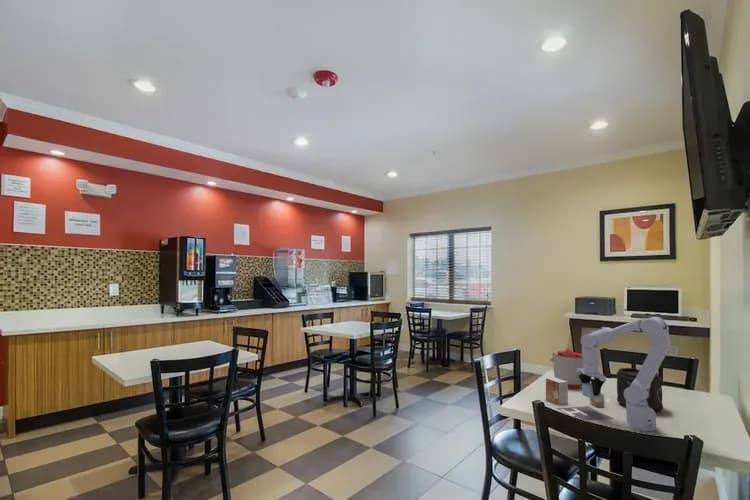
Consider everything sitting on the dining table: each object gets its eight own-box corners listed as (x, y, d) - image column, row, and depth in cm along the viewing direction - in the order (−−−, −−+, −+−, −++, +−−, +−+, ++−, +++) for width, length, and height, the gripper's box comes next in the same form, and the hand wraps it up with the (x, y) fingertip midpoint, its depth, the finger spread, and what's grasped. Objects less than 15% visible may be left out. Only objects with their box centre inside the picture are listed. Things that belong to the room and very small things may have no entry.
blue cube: (601, 398, 163) (600, 386, 163) (590, 398, 162) (590, 386, 162) (592, 394, 168) (592, 382, 168) (582, 394, 167) (582, 383, 167)
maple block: (604, 407, 171) (604, 394, 172) (596, 408, 171) (596, 394, 171) (597, 404, 175) (597, 391, 176) (590, 405, 175) (589, 392, 175)
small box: (545, 400, 181) (545, 377, 182) (554, 399, 183) (554, 376, 183) (559, 405, 173) (558, 382, 174) (568, 404, 175) (568, 381, 176)
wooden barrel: (653, 402, 180) (652, 368, 181) (671, 415, 162) (670, 378, 163) (610, 398, 185) (609, 365, 186) (623, 411, 167) (622, 375, 168)
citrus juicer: (558, 379, 217) (557, 344, 219) (590, 386, 204) (589, 349, 205) (544, 384, 208) (544, 347, 209) (578, 392, 194) (577, 352, 195)
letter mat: (614, 420, 157) (614, 418, 157) (580, 422, 154) (580, 421, 154) (587, 407, 171) (587, 406, 172) (556, 409, 169) (556, 408, 169)
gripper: (571, 358, 172) (571, 389, 171) (595, 366, 158) (596, 399, 157) (584, 358, 174) (585, 388, 173) (609, 365, 159) (610, 398, 158)
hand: (591, 393), depth 165 cm, fingers closed on blue cube, 5 cm apart
